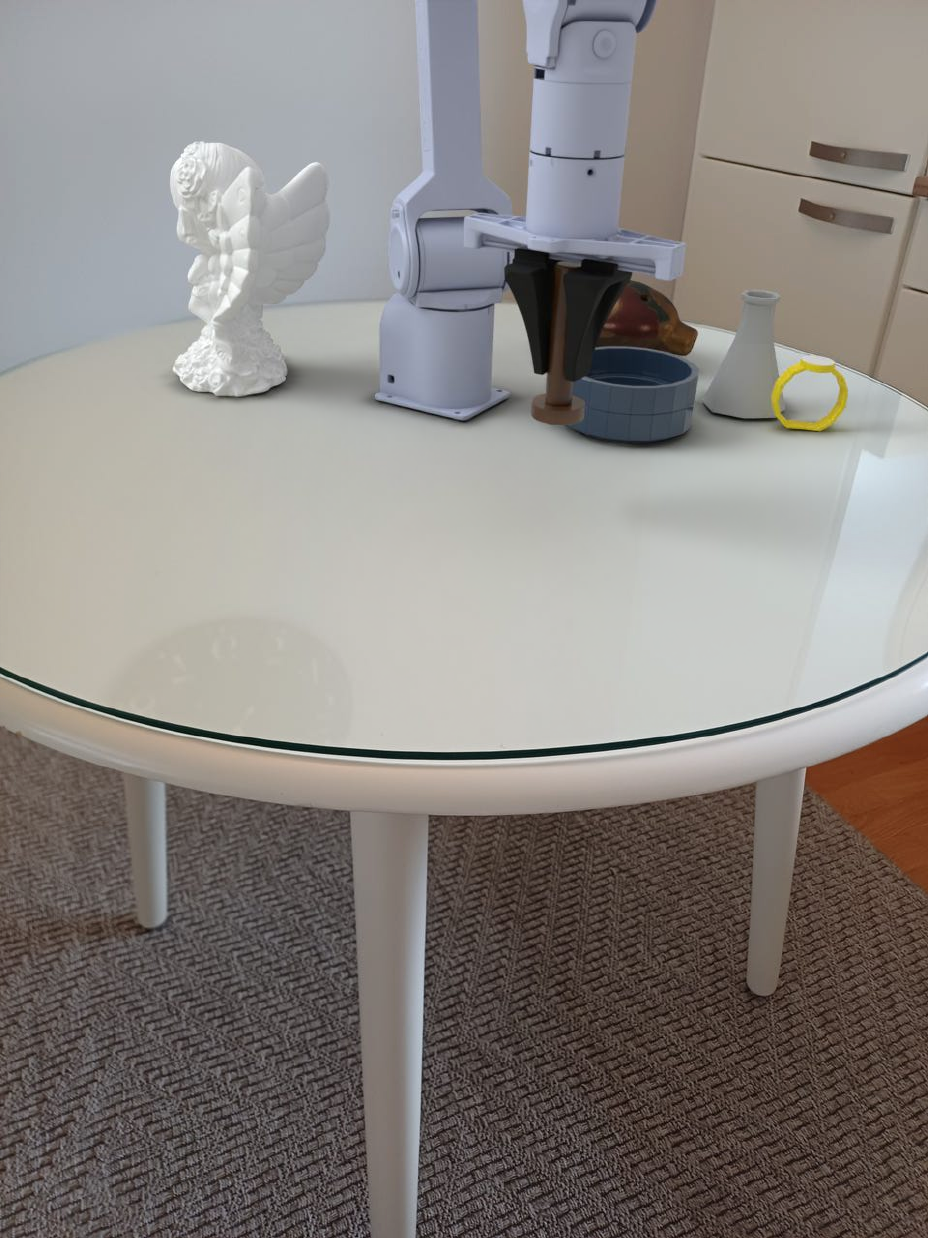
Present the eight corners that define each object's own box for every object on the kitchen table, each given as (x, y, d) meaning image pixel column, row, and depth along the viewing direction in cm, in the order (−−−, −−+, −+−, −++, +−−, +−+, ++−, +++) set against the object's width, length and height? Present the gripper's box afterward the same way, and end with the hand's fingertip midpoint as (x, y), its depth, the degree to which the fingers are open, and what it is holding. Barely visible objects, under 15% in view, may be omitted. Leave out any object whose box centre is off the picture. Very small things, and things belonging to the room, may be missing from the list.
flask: (786, 425, 93) (808, 307, 88) (701, 417, 94) (717, 300, 89) (782, 398, 99) (803, 286, 94) (702, 391, 100) (718, 280, 95)
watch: (771, 432, 91) (783, 363, 88) (764, 421, 94) (776, 353, 91) (842, 435, 91) (857, 365, 88) (833, 423, 94) (847, 355, 91)
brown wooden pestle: (521, 417, 73) (530, 265, 68) (546, 403, 76) (557, 255, 70) (569, 429, 71) (581, 273, 66) (593, 413, 74) (607, 263, 69)
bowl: (534, 428, 91) (538, 370, 88) (593, 393, 99) (598, 338, 96) (659, 458, 86) (666, 397, 83) (710, 418, 94) (718, 361, 91)
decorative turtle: (553, 338, 114) (564, 259, 110) (696, 366, 110) (713, 286, 106) (527, 359, 105) (538, 274, 102) (680, 390, 102) (698, 304, 98)
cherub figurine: (233, 347, 108) (215, 127, 98) (342, 366, 104) (335, 139, 94) (148, 384, 98) (118, 143, 88) (265, 407, 93) (248, 156, 83)
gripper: (439, 147, 65) (435, 368, 72) (663, 173, 59) (635, 413, 66) (498, 136, 71) (490, 343, 77) (710, 159, 64) (680, 382, 71)
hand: (560, 373), depth 72 cm, fingers closed on brown wooden pestle, 2 cm apart
